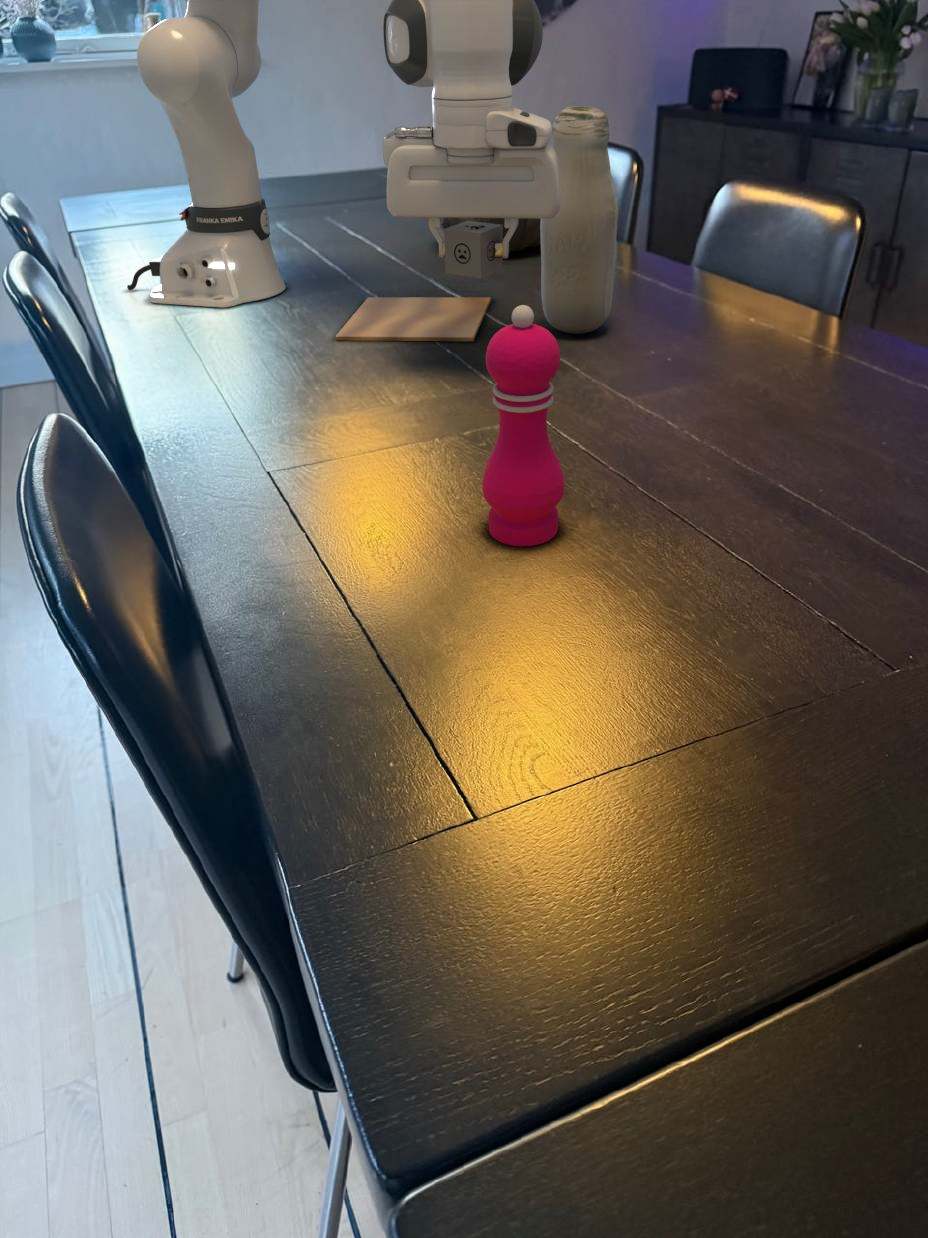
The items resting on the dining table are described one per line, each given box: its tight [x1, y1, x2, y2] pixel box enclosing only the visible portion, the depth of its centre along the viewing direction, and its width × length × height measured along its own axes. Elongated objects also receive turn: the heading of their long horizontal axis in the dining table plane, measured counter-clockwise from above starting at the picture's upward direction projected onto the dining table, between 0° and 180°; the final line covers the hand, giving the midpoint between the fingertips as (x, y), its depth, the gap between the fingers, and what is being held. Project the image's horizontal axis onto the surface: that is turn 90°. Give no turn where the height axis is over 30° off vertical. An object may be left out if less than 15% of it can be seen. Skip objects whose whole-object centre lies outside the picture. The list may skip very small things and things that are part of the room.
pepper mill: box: [481, 304, 565, 547], centre depth 76 cm, size 7×7×20 cm
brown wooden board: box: [335, 296, 492, 342], centre depth 135 cm, size 20×20×1 cm
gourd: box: [440, 217, 541, 253], centre depth 168 cm, size 25×25×17 cm
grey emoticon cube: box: [443, 221, 503, 279], centre depth 107 cm, size 5×5×5 cm
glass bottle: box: [540, 105, 619, 335], centre depth 120 cm, size 10×10×28 cm
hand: (474, 256), depth 107 cm, fingers closed on grey emoticon cube, 5 cm apart
